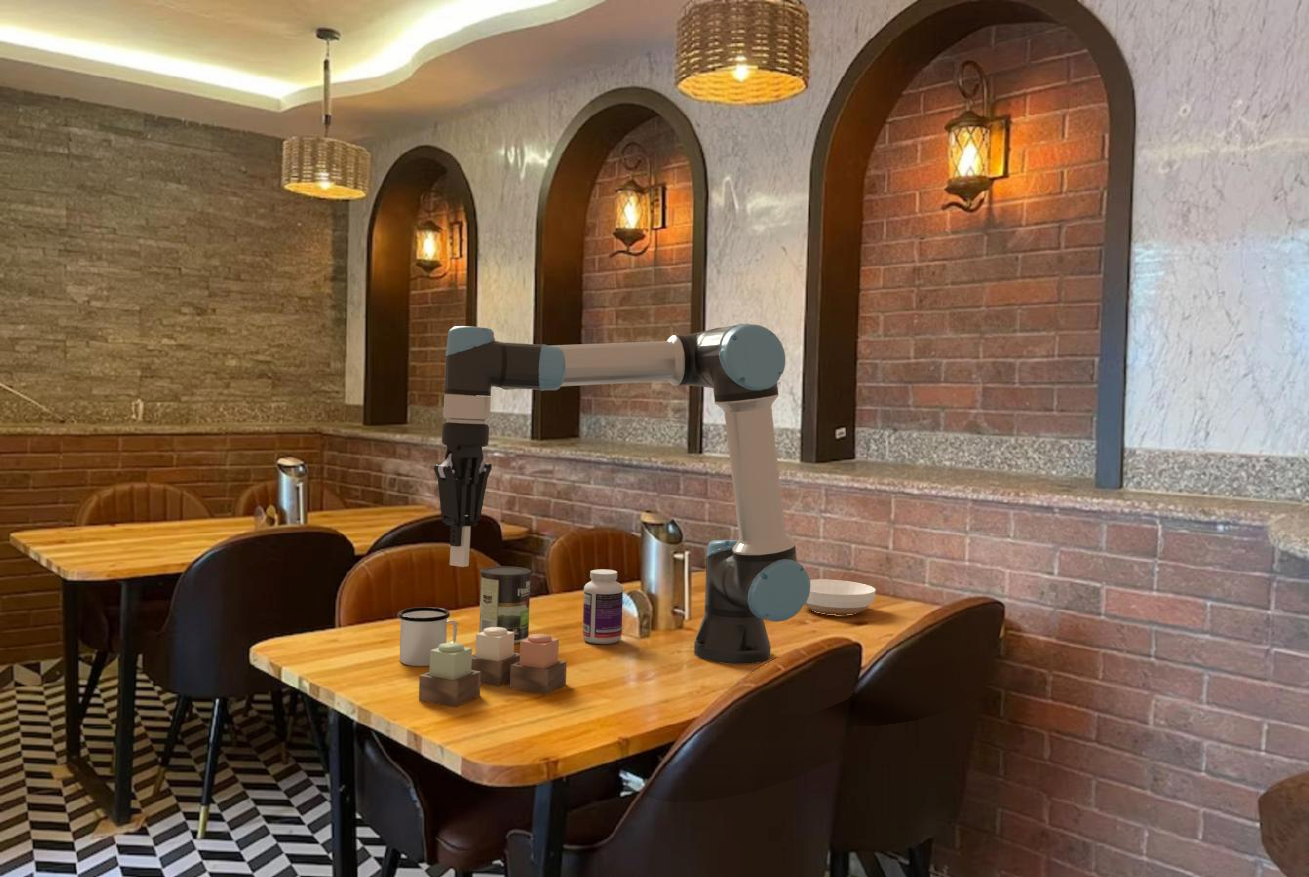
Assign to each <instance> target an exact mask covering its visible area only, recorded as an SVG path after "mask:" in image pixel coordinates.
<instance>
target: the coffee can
mask: <svg viewBox="0 0 1309 877" xmlns="http://www.w3.org/2000/svg"><path fill="white" fill-rule="evenodd" d="M531 576H532V570H531V569H529V568H526V567H519V566H505V565H504V566H502V565H501V566H499V565H498V566H489V567H485V568H482V569H480V598H479V626H478V627H479V631H478V633H481V632H484V629H485V628H490V627H501V628H505V629H507V631H510V632H514V645H516V644H520V641H522V640H524V639H527V638H528V636H529V635H530V634H529V633H530V632H529V631H530V630H529V629H530V628H529V627H530V601H531V600H530V597H531Z"/></svg>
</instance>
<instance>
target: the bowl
mask: <svg viewBox="0 0 1309 877" xmlns="http://www.w3.org/2000/svg"><path fill="white" fill-rule="evenodd" d="M876 591H877V590H876V588H875V587H874V586H871V585H869V584H864V583H860V582H855V581H850V580H841V579H828V578H827V579H825V578H822V579H821V578H820V579H819V578H817V579H810V593H809V597H808V600H807V602H806V604H805V605H804V606H803V607H806V608H808V609H810V610H813V611H816V612H820V613H825V614H836V615H847V614H855V613H857V614H858V613H861V612H864V611H865V610H867V609H868V608H869V607H870V606H871V605H872V604H873V602H874V600H875V597H876ZM813 611H812V612H813Z"/></svg>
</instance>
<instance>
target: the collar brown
mask: <svg viewBox="0 0 1309 877" xmlns="http://www.w3.org/2000/svg"><path fill="white" fill-rule="evenodd" d="M566 684H567V661H566V660H561V659H558V663H557V664H555V665H553V666H551V667H549V668H547V669H540V668H534V667H528V666H522V665H520V661H518V662H516V663H514V664H511V667H510V682H509V689H513V690H519V691H524V692H529V693H534V694H541V695H544V696H545V695H547V694H550V693H551V692H554V691H555V690H557V689H559V688H561V687H563V686H565V685H566Z"/></svg>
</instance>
